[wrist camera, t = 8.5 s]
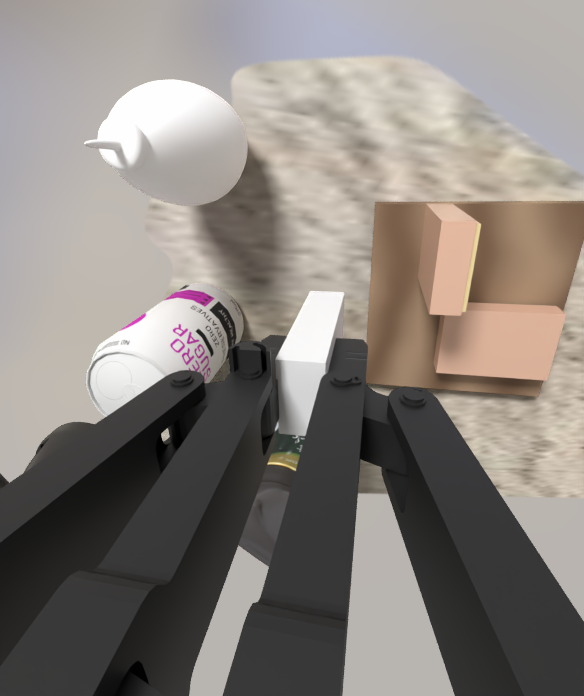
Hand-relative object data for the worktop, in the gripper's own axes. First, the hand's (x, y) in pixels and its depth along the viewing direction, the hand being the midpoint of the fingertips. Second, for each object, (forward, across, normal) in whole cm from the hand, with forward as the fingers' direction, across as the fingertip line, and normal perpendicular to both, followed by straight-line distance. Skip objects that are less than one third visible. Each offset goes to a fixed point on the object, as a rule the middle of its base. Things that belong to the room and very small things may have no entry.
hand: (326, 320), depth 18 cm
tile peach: (+19, -7, 0) cm, 20 cm away
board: (+20, -10, +6) cm, 23 cm away
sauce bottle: (+20, +12, -7) cm, 25 cm away
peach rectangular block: (+17, -8, +8) cm, 21 cm away
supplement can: (+20, +15, +9) cm, 27 cm away
